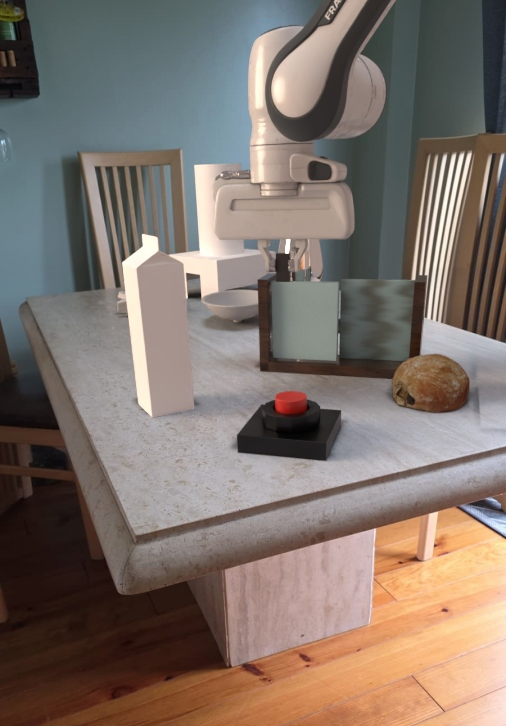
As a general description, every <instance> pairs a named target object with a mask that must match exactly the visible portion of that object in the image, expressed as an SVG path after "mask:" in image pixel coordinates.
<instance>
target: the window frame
mask: <svg viewBox="0 0 506 726" xmlns="http://www.w3.org/2000/svg"><path fill="white" fill-rule="evenodd" d="M272 281H276V273H268V274H266V275H265V276H263V277H261V278H260V279H258V284H257V291H258V314H257V316H258V342H259V343H258V349H259V371H260V372H270V373H271V372H274V373H290V374H307V375H325V376H339V377H341V376H342V377H343V376H344V377H356V378H357V377H358V378H375V379H392V380H393V377H394V374H395V372H396V370H397V369H398V367H399V366H400V365H401V364H402V363H403V362H405V361H406V360H408V359H410V358H413V357H416V356H420V355H422V350H423V349H422V347H423V338H424V337H423V335H424V325H425V313H426V311H425V310H426V298H427V286H428V275H427V274H423V275H422V274H416V276H415V279H382V278H381V279H379V278H378V279H374V278H372V279H371V278H370V279H369V278H341V279H340V302H339V319H340V332H339V340H338V359H337V361H327V360H308V359H288V358H273V330H272Z"/></svg>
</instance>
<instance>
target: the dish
mask: <svg viewBox="0 0 506 726" xmlns="http://www.w3.org/2000/svg"><path fill="white" fill-rule="evenodd" d="M200 301H201V303H203V305H205V306H206V307H207V308H208V310H210V312H212V314H214V315H215V316H216V317H218V318H221V319H223V320H227V321H229V320H230V321H233V323H242V322H243V320H248V319H251V318H253V317H256V316H258V290H256V289H255V290H254V289H228V290H225V291H220V292H215V293H211V294H208V295H206V296H204V297H203V298H202V297H201V300H200Z"/></svg>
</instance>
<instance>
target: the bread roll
mask: <svg viewBox="0 0 506 726" xmlns="http://www.w3.org/2000/svg"><path fill="white" fill-rule="evenodd" d="M470 384H471V382H470V377H469V375H468V374H467V372H466V371H465V369H464V368H463V367H462V365H460V364H459V363H458V362H457V361H455V360H454V359H453V358H451V357H449V356H447V355H443V354H440V353H427V354H421V355H420V356H416V357H413V358H410V359H408V360H406V361H405V362H403V363H402V364H401V365H400V366H399V367H398V369H397V370H396V372H395V374H394V377H393V379H392V380H391V387H392V389H391V390H392V397H393V399H394V400H395V401H396V405H398V406H403V407H407V408H410V409H413V410H423V411H425V412H427V413H429V412H430V413H445V412H446V413H447V412H453V411H455V410H460V408H462V406H464V404H465V403H466V401H467V399H468V395H469V393H470Z"/></svg>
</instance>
